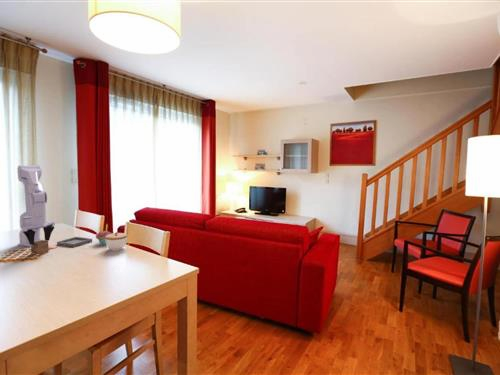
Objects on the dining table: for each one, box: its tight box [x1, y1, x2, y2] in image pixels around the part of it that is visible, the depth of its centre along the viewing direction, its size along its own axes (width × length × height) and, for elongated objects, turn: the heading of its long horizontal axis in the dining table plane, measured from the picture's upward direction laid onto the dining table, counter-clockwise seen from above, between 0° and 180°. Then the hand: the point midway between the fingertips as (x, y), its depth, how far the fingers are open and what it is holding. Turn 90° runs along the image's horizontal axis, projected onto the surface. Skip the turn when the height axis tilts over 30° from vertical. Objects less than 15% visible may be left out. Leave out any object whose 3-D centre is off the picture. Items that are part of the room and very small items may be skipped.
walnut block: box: [30, 239, 50, 255], centre depth 137 cm, size 5×5×6 cm
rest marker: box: [48, 245, 58, 250], centre depth 145 cm, size 6×6×1 cm
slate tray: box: [56, 236, 93, 248], centre depth 155 cm, size 12×12×2 cm
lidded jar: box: [105, 231, 128, 252], centre depth 147 cm, size 11×11×9 cm
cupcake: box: [95, 223, 112, 245], centre depth 156 cm, size 9×8×12 cm
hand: (39, 242), depth 136 cm, fingers open, 7 cm apart
